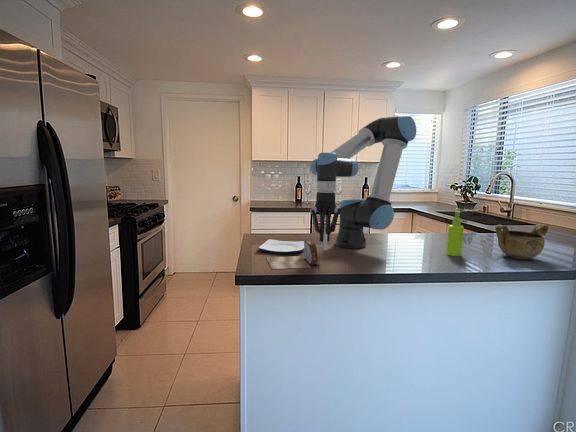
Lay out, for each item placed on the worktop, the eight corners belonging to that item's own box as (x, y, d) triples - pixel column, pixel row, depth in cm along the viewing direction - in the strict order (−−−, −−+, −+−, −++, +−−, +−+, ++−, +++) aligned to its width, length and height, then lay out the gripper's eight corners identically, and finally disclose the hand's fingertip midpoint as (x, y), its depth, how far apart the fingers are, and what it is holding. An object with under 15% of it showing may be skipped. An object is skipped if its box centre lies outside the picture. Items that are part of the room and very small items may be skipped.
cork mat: (300, 256, 144) (300, 256, 144) (310, 267, 129) (310, 267, 129) (266, 258, 141) (266, 257, 141) (272, 269, 125) (272, 268, 125)
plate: (300, 257, 145) (301, 251, 144) (255, 254, 149) (255, 248, 148) (307, 246, 164) (307, 241, 164) (267, 243, 168) (267, 238, 168)
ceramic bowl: (527, 252, 157) (530, 221, 155) (559, 263, 140) (564, 227, 138) (482, 253, 155) (485, 221, 153) (509, 263, 138) (513, 227, 136)
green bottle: (460, 253, 154) (464, 210, 151) (461, 256, 148) (465, 212, 145) (446, 251, 156) (450, 209, 153) (446, 255, 150) (450, 211, 147)
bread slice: (318, 267, 130) (318, 246, 128) (310, 267, 129) (310, 246, 128) (309, 256, 144) (310, 237, 143) (302, 257, 144) (303, 237, 143)
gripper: (313, 192, 129) (311, 252, 132) (344, 192, 131) (342, 250, 135) (307, 191, 136) (306, 247, 139) (338, 191, 139) (335, 246, 142)
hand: (324, 249), depth 137 cm, fingers closed
